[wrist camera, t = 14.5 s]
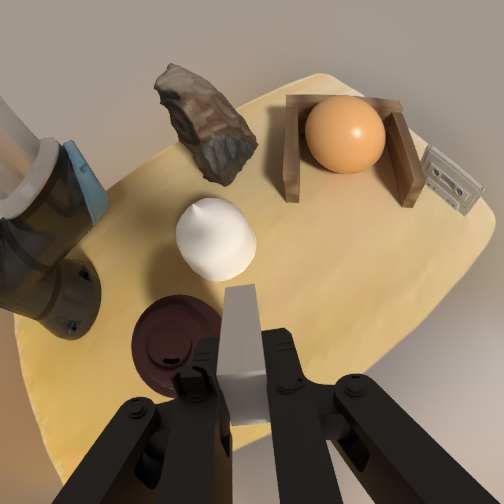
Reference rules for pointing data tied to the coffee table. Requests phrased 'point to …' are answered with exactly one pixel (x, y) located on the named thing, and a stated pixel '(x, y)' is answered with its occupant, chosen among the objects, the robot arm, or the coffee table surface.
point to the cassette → (454, 195)
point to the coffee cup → (171, 338)
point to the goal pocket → (395, 135)
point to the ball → (345, 134)
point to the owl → (206, 124)
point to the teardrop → (215, 239)
